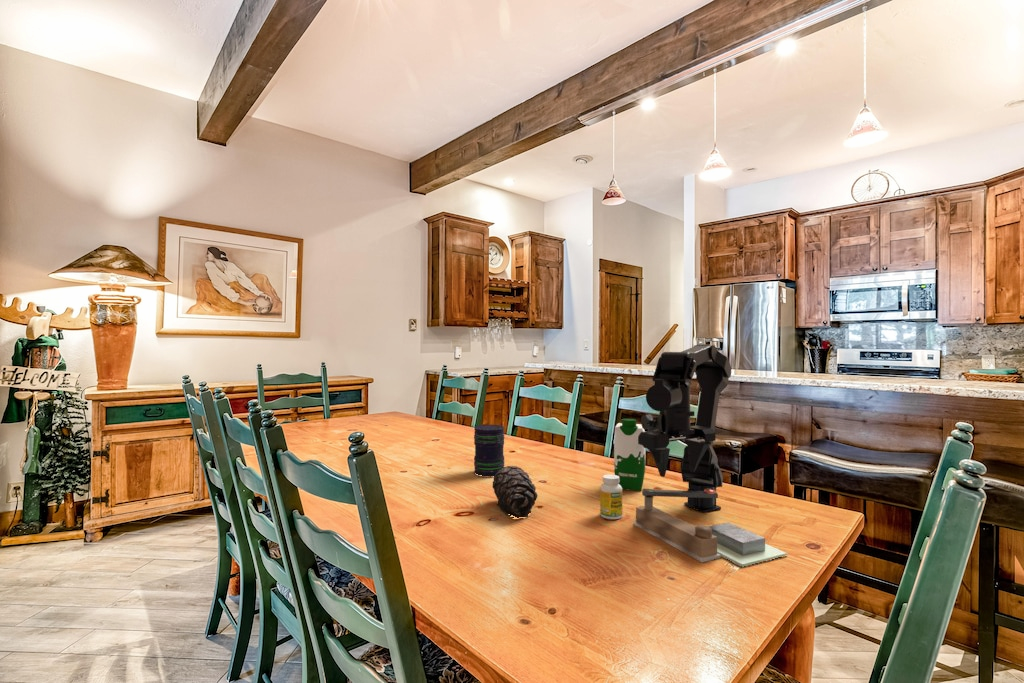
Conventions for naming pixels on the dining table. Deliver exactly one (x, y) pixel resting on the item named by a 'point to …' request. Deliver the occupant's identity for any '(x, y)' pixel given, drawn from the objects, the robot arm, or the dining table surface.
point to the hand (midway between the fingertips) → (677, 473)
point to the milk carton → (629, 455)
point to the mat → (750, 555)
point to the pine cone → (514, 491)
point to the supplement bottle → (611, 497)
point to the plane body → (677, 532)
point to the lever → (680, 493)
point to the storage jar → (488, 449)
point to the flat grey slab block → (738, 539)
